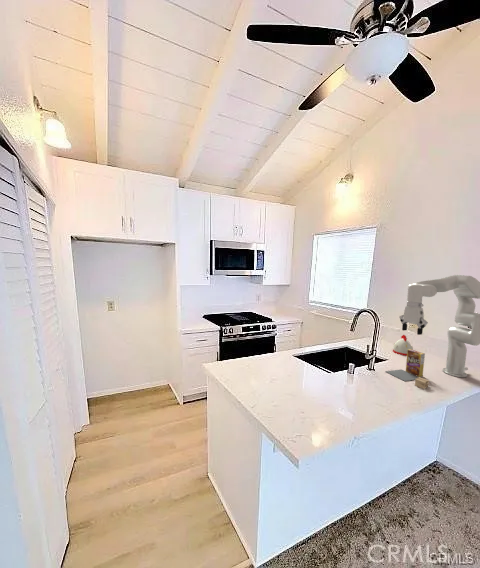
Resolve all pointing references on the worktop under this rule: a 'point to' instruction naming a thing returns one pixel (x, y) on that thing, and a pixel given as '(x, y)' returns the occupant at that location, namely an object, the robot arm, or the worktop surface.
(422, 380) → the oak block
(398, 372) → the mat
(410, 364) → the candy box
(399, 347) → the kitchen timer
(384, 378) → the worktop surface
